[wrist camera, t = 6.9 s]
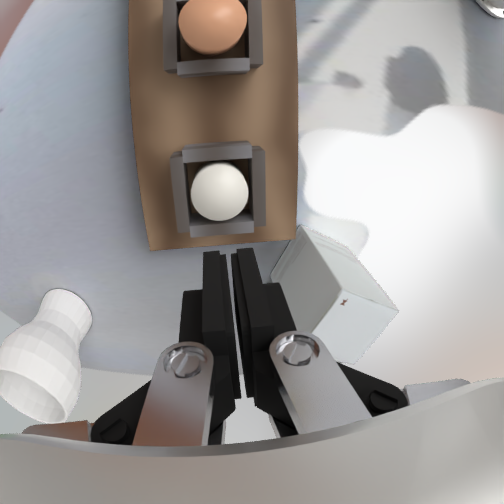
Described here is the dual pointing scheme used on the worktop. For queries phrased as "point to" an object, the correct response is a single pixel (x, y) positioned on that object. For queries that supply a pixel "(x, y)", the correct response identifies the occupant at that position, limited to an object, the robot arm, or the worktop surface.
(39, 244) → the worktop surface
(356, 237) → the worktop surface
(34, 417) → the cup
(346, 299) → the supplement box
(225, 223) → the button board
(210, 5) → the terracotta plunger
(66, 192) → the worktop surface
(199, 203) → the off-white plunger
